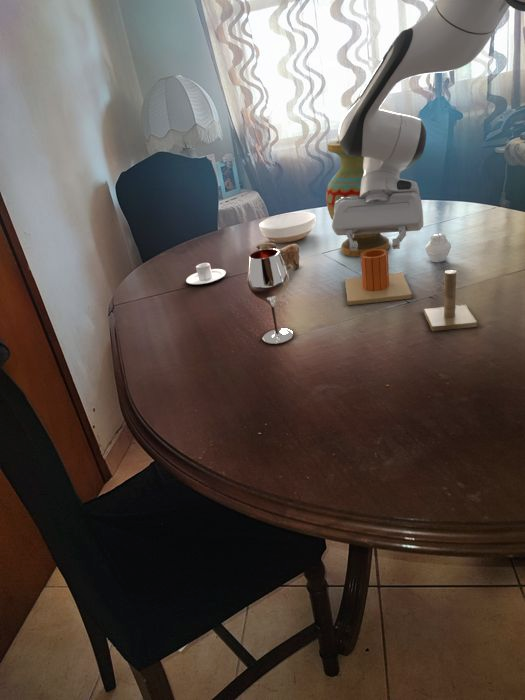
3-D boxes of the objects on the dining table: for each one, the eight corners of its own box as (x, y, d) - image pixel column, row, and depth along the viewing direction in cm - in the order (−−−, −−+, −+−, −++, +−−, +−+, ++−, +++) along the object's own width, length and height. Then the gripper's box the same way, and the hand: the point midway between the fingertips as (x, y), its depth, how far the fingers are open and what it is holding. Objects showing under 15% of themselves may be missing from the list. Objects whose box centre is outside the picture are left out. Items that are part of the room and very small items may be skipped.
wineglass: (269, 326, 101) (254, 247, 93) (303, 328, 98) (291, 246, 89) (252, 344, 95) (235, 261, 87) (288, 347, 92) (274, 261, 83)
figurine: (254, 282, 128) (248, 247, 123) (290, 261, 138) (285, 228, 133) (273, 284, 123) (267, 248, 119) (308, 263, 133) (304, 229, 128)
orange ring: (387, 279, 111) (386, 247, 107) (390, 289, 105) (389, 255, 102) (361, 282, 112) (359, 250, 108) (363, 292, 106) (361, 259, 103)
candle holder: (224, 268, 143) (221, 255, 141) (228, 280, 132) (225, 266, 130) (186, 276, 142) (182, 263, 140) (187, 289, 131) (183, 275, 129)
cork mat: (402, 275, 114) (402, 272, 113) (412, 298, 102) (412, 294, 101) (345, 282, 116) (344, 278, 116) (348, 305, 104) (347, 301, 104)
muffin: (452, 263, 116) (453, 235, 112) (426, 265, 117) (426, 238, 114) (448, 254, 121) (449, 228, 117) (424, 257, 122) (424, 231, 119)
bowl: (319, 226, 167) (317, 209, 164) (315, 242, 150) (313, 224, 147) (266, 233, 171) (264, 216, 168) (257, 249, 155) (254, 231, 152)
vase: (356, 265, 125) (347, 147, 111) (319, 251, 142) (307, 146, 128) (415, 246, 131) (413, 131, 117) (372, 234, 148) (367, 132, 134)
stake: (465, 309, 93) (467, 261, 88) (476, 327, 86) (479, 276, 82) (424, 313, 95) (424, 267, 90) (432, 331, 88) (432, 282, 83)
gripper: (332, 190, 108) (325, 244, 105) (424, 181, 100) (420, 239, 97) (338, 205, 114) (332, 256, 111) (426, 197, 105) (422, 253, 102)
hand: (374, 248), depth 104 cm, fingers open, 8 cm apart
